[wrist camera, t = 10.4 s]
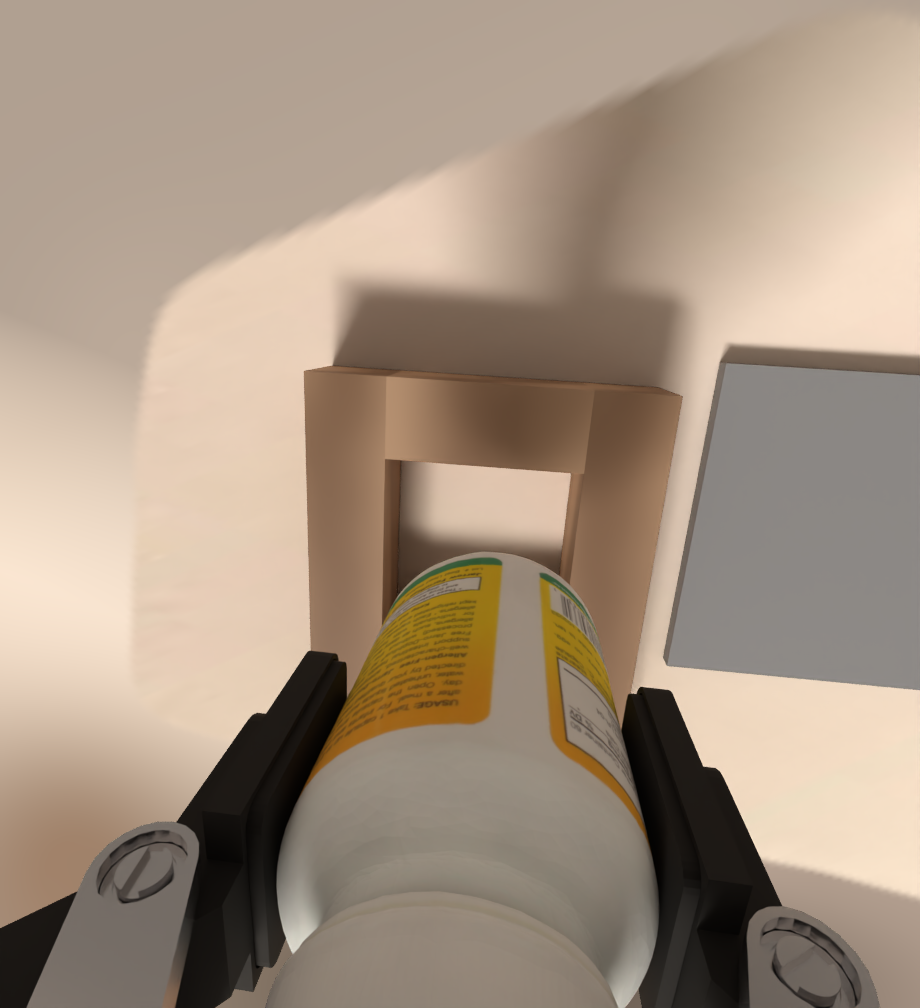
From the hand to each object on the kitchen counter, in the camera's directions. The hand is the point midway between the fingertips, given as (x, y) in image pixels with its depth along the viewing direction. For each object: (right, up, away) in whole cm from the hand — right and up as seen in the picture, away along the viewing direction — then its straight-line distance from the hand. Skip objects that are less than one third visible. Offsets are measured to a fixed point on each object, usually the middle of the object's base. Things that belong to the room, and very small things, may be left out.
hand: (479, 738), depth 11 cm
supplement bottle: (0, +1, +4) cm, 4 cm away
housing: (0, +2, +12) cm, 12 cm away
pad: (+14, +3, +10) cm, 18 cm away
